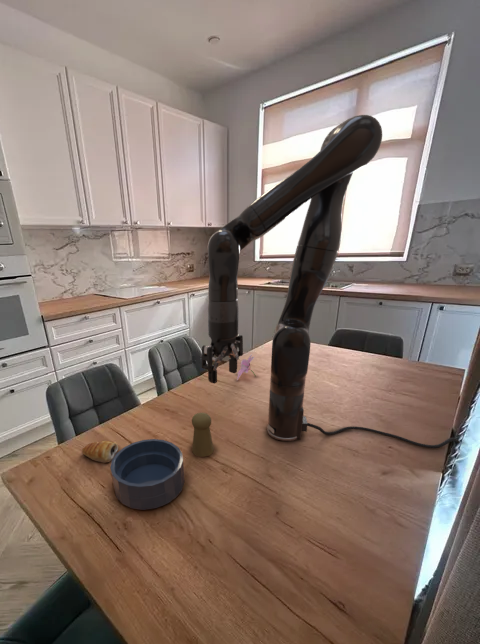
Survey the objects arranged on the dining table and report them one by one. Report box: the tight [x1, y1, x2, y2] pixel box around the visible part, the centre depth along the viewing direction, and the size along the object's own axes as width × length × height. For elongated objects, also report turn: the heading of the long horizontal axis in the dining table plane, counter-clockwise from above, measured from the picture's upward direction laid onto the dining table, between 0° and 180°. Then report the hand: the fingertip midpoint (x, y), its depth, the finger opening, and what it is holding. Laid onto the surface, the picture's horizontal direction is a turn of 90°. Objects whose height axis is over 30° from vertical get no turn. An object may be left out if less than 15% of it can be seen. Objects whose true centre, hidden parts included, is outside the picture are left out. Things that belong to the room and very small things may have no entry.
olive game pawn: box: [191, 412, 215, 458], centre depth 84 cm, size 6×6×11 cm
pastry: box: [81, 440, 119, 463], centre depth 86 cm, size 9×7×4 cm
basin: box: [109, 438, 186, 511], centre depth 74 cm, size 17×17×7 cm
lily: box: [236, 353, 257, 381], centre depth 128 cm, size 12×12×10 cm
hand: (223, 377), depth 84 cm, fingers open, 8 cm apart
